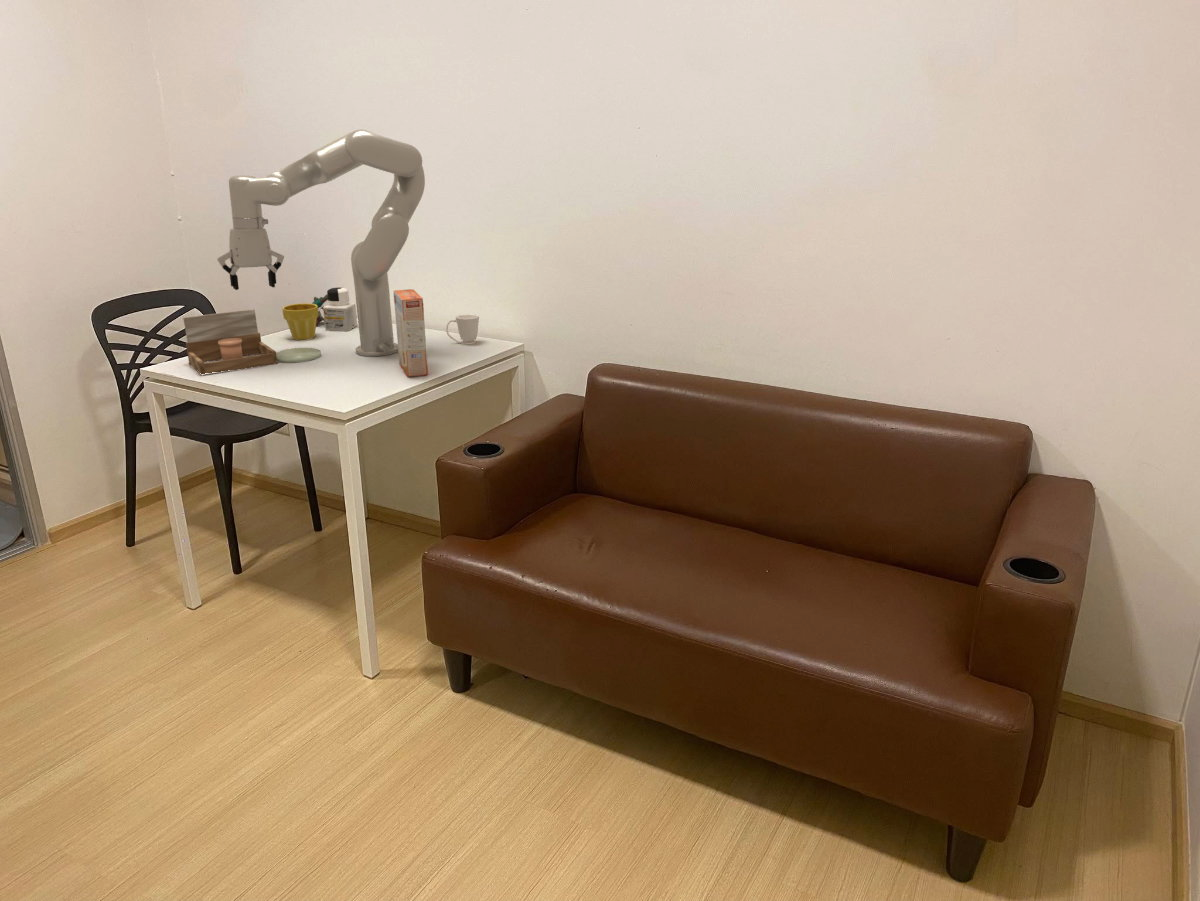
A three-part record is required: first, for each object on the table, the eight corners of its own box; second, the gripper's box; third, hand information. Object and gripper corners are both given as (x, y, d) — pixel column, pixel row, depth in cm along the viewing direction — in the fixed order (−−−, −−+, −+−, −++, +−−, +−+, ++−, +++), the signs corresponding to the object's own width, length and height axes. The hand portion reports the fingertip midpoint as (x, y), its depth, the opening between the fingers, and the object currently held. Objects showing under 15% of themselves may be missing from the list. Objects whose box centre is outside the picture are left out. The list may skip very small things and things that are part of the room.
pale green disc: (327, 357, 253) (327, 354, 253) (282, 365, 246) (281, 361, 246) (312, 348, 263) (312, 345, 263) (268, 355, 256) (267, 352, 256)
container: (325, 330, 285) (320, 290, 280) (335, 325, 292) (331, 285, 287) (347, 331, 284) (343, 291, 279) (358, 326, 291) (353, 286, 286)
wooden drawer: (277, 363, 248) (271, 317, 243) (202, 375, 237) (193, 327, 232) (261, 352, 259) (255, 308, 255) (189, 363, 248) (181, 317, 244)
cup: (479, 345, 266) (478, 318, 263) (446, 346, 265) (444, 319, 262) (481, 339, 273) (479, 313, 270) (448, 340, 272) (446, 314, 269)
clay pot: (247, 364, 248) (244, 341, 245) (224, 367, 244) (220, 344, 242) (241, 359, 252) (238, 336, 250) (219, 363, 249) (215, 340, 246)
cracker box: (429, 375, 236) (423, 297, 228) (406, 378, 234) (400, 299, 226) (420, 362, 248) (414, 288, 241) (398, 364, 246) (392, 289, 239)
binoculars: (324, 327, 298) (304, 303, 295) (346, 312, 297) (326, 287, 294) (318, 334, 290) (298, 309, 286) (341, 318, 289) (321, 293, 285)
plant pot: (315, 341, 271) (311, 310, 268) (281, 341, 272) (277, 310, 268) (325, 333, 281) (321, 303, 278) (293, 333, 281) (289, 303, 278)
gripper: (276, 221, 245) (281, 283, 251) (210, 223, 236) (217, 287, 242) (284, 224, 240) (290, 287, 245) (217, 226, 230) (224, 292, 236)
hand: (254, 287), depth 244 cm, fingers open, 9 cm apart
